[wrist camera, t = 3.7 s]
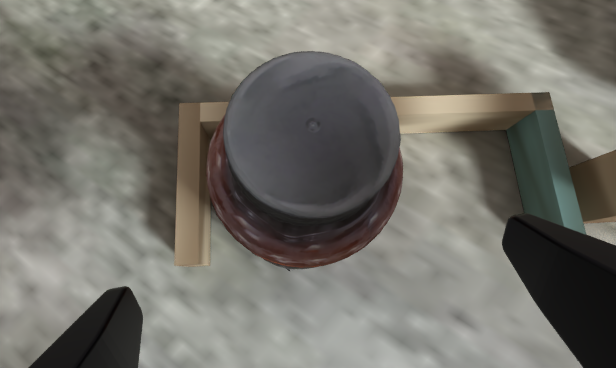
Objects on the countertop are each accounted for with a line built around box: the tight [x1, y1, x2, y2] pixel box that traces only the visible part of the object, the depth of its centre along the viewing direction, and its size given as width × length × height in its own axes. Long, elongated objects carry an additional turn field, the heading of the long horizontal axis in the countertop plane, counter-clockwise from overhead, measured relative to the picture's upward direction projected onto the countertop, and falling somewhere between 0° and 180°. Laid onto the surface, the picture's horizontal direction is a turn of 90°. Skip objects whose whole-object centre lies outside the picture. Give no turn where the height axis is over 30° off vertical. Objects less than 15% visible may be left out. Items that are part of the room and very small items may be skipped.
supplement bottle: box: [206, 51, 403, 271], centre depth 13 cm, size 6×6×11 cm
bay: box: [174, 92, 586, 267], centre depth 18 cm, size 19×8×2 cm, turn 93°
